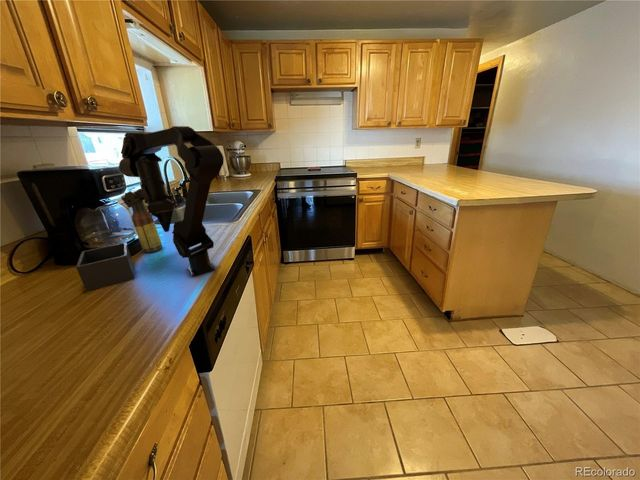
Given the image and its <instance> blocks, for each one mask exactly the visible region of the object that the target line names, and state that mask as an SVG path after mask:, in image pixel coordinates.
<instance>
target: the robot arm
mask: <svg viewBox="0 0 640 480" xmlns="http://www.w3.org/2000/svg"><path fill="white" fill-rule="evenodd" d="M186 144H191V145H190V146H189V147H188V146H187V145H186ZM171 146H175V147H176V152H177V156H178V157H179V158H180V159H181V160H182V161H183V162H184V168H185V170H186V172H187V174H188V176H189V182H188V186H187V193H186V200H185V206H184V210H183V211H184V212H183V219H181V220H178V221H175V222H174V223H173V230H172V232H171V234H172V242H173V245H174V247H175V249H176V251H177V253H178V255H179V256H180V257H181V258H182V259H188V263H189V266H188V267H187V269H188V271H189V273H190V274H191V277H196V276H199V275H203V274H205V273H209V272H212V271H215V270H216V269H215V267H214V265H213V264H212V263H211V260H210V256H209V251H208V250H210V249H213V248H214V246H215V245H214V244H215V241H213V239H212V238H211V237H210V236H209V234H208V233H207V229H206V227H205V226H204V224H203V221H204V216H205V211H206V207H207V204H208V203H207V202H208V199H209V192H210V189H211V183H212V181H214V180H215V178H216V177H217V176H218V175H220V172H221V170H222V168H223V165H224V161H225V160H224V156H223V155H224V154H223V152H222V151H221V150H220V148H218V147H217V146H216V145H215V144H214V143H213V142H212V141H211V140H210V139H208V138H206V137H205V136H202V135H201V134H199V133H198V132H196V130H194V128H192V127H191V126H187V125H186V126H185V125H177V126H176V125H174V126H172V127H169V128H164V129H161V130H157V131H130V132H129V131H128V132H126V133H125V134H124V137H123V140H122V147H121V151H120V154H121V158H122V159H121V160H120V161H119V163H118V169H119V171H120V173H121V174H122V175H124V176H126V177H128V178H139V181H140V182H139V185H140V187H137V188H135V189H133V190H128V191H127V192H124V194H123V195H121V196H120V199H121V200H122V202H123V203H124V204H125V205H126V207H127V208H129V209H130V208H132V207H133V206H134V205H135V204H137V203H139V202H141V201H143V202H145V203H144V204H146V205H145V206H146V209H147V211H148V212H149V214H150V215H151V216H152V217H153V216H154V217H156V219H157V220H158V222H159V224H160V225H161V227H162V230H163V232H164V233H168V232H170V228H171V223H172V218H173V214H174V210H175V207H174V204H173V201H172V200H171V199H169V195H168V193H167V190H166V186H165V184H166V183H165V181H164V179H163V178H164V177H163V175H162V171H161V167H160V163H159V162H162V161H163V160H162V158H161V157H160V156H158V155H157V154H156V153H158V152H160V151H161V150H162V148H165V147H171Z"/></svg>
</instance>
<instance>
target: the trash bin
mask: <svg viewBox="0 0 640 480" xmlns="http://www.w3.org/2000/svg"><path fill="white" fill-rule="evenodd" d="M75 268H76V270H77V273H78V275H79V277H80V280H81V282H82V285H83V287H84V289H85V291H86V292H89V291H92V290H96V289H100V288H103V287H107V286H111V285H116V284H118V283H122V282H126V281H131V280H133V279H135V268H134V261H133V258H132V256H131V252H130V250H129V246H128V244H127V242H120V243H117V244H110V245H106V246H102V247H97V248H91V249H88V250H87V249H86V250H83V251H81V253H80V256H79V258H78V261H77V263H76V266H75Z"/></svg>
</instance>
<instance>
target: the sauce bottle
mask: <svg viewBox="0 0 640 480" xmlns="http://www.w3.org/2000/svg"><path fill="white" fill-rule="evenodd" d="M145 206H146V205H145V203H144V200H143V201H141V202H139V203H137V204H135V205H134V206H133V207H131V209H132V215H131V221H132V223H133V227H134V229H135V232H136V235H137V237H138V240H139V243H140V246H141V248H142V250H143V252H144V253H156V252H158V251H160V250H162V249H163V245H162V241H161V238H160V235H159V232H158V228H157V227H156V226H157V225H156V223H155V221H154V218H153V215H151V214H150V213H149V211H148V209H147V208H146V207H145Z"/></svg>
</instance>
